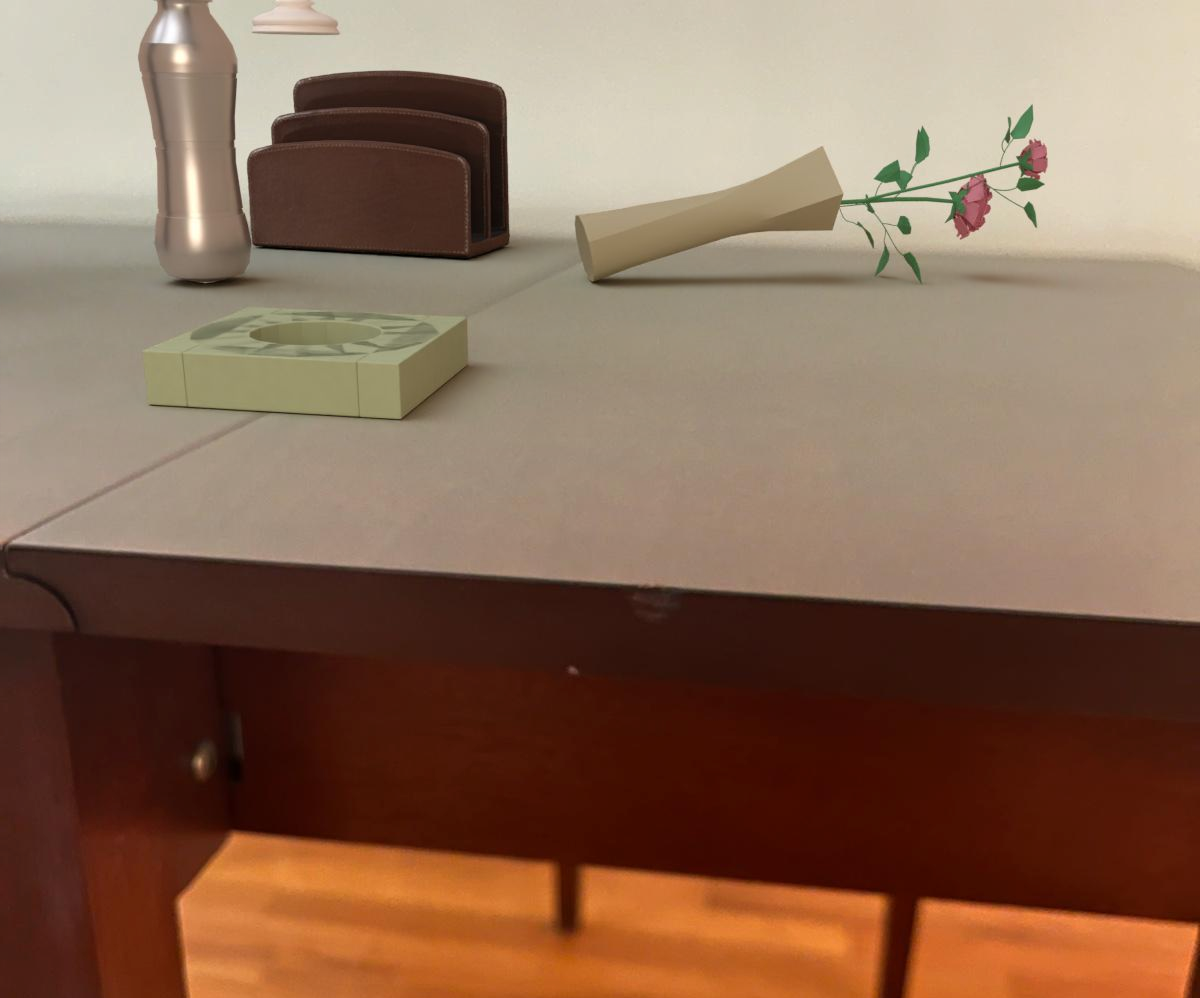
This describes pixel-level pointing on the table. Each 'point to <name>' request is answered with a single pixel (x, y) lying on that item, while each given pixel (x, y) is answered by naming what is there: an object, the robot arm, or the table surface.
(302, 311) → the green ashtray
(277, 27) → the chess piece
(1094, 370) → the table surface
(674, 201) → the flower vase
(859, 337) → the table surface
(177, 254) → the metallic bottle
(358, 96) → the letter holder
